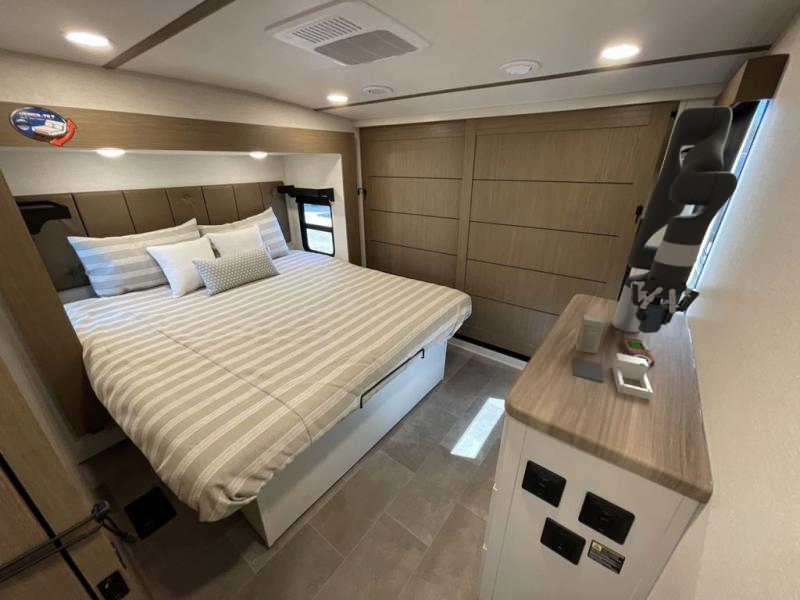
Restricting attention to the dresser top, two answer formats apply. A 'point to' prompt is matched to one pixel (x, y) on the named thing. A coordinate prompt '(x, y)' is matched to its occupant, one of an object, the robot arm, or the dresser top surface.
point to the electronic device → (637, 349)
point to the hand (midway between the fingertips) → (650, 321)
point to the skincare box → (590, 334)
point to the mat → (587, 369)
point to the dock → (631, 375)
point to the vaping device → (653, 315)
